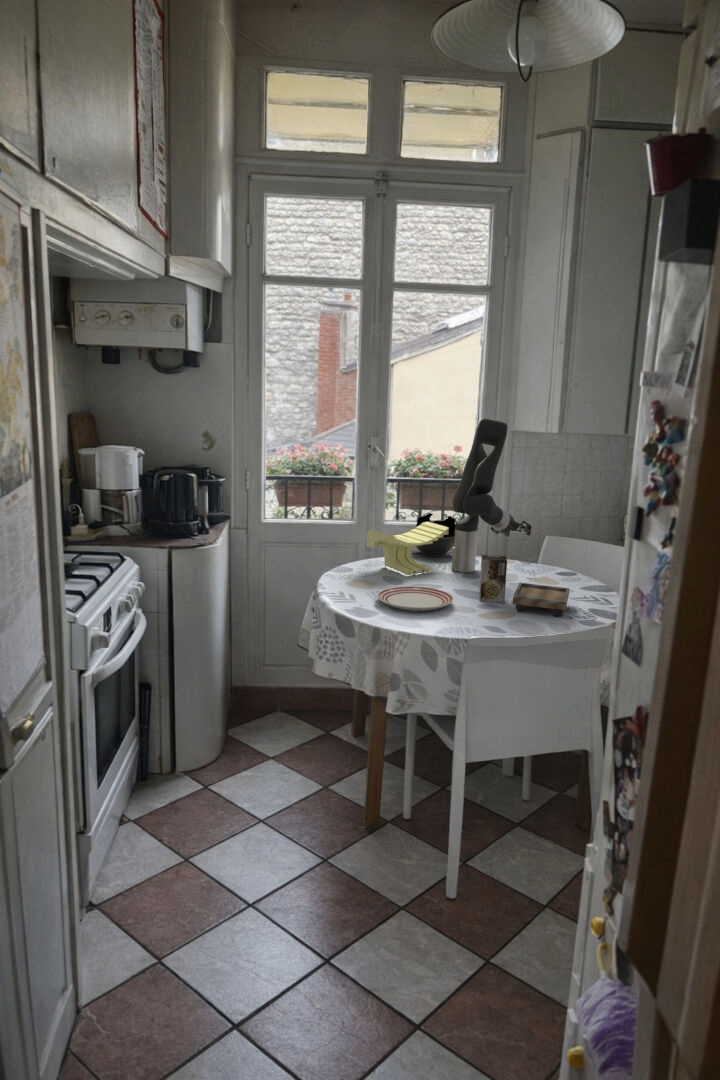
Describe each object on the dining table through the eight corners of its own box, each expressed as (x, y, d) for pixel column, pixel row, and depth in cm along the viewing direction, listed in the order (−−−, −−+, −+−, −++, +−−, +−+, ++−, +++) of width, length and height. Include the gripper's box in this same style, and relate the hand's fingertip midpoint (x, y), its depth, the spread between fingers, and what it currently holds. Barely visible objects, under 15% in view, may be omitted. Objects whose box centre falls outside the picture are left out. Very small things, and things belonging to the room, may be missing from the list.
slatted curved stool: (420, 560, 344) (422, 520, 339) (446, 569, 331) (448, 527, 327) (365, 570, 326) (367, 527, 322) (390, 579, 313) (392, 535, 309)
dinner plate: (364, 596, 292) (364, 587, 292) (430, 589, 303) (430, 581, 302) (396, 620, 268) (397, 610, 267) (467, 612, 279) (468, 603, 278)
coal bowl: (401, 553, 355) (403, 511, 350) (434, 547, 367) (436, 507, 362) (431, 563, 339) (434, 520, 335) (465, 557, 351) (468, 515, 347)
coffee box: (503, 597, 296) (506, 555, 292) (504, 603, 290) (508, 560, 286) (478, 596, 297) (481, 554, 293) (479, 601, 290) (482, 558, 287)
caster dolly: (511, 612, 279) (513, 596, 278) (518, 597, 296) (519, 582, 295) (564, 619, 274) (566, 602, 273) (567, 604, 291) (569, 588, 290)
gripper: (519, 509, 285) (537, 523, 297) (483, 511, 293) (502, 525, 306) (517, 529, 283) (535, 542, 295) (481, 530, 291) (500, 543, 304)
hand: (519, 533), depth 300 cm, fingers open, 8 cm apart
